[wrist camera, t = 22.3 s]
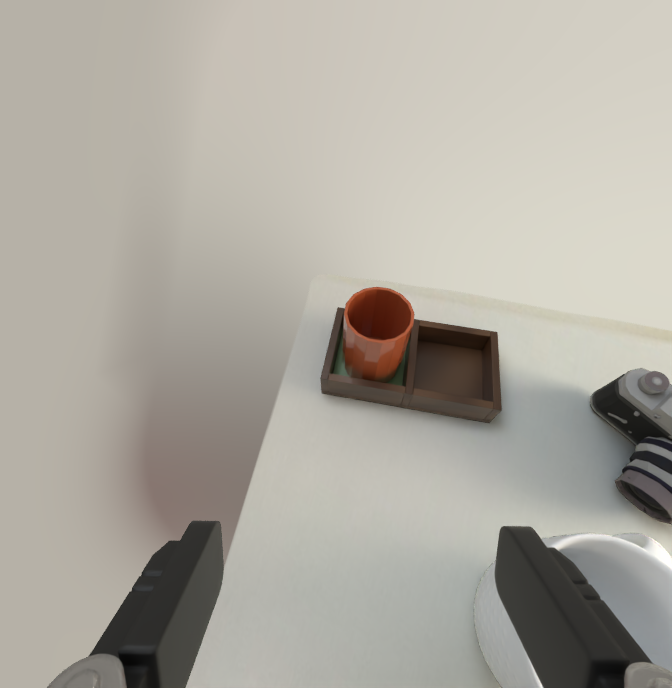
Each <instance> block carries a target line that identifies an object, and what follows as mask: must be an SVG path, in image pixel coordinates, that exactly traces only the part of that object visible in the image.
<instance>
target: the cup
mask: <svg viewBox="0 0 672 688" xmlns="http://www.w3.org/2000/svg"><path fill="white" fill-rule="evenodd" d="M413 323H414V311H413V309H412V306H411V304H410V302H409V301H408V300H407V299H406V298H405V297H404V296H403V295H402V294H400V293H398V292H396V291H394V290H392V289H388V288H382V287H373V288H366V289H363V290H361V291H359V292H357V293H355V294H354V295H353V296H352V297H351V298H350V299H349V301H348V302H347V303H346V307H345V311H344V328H343V357H342V359H343V365H344V368H345V370H346V372H347V374H348V375H349V376H350V377H353V378H359V379H365V380H371V381H376V382H382V383H387V382H389V381H390V380H392V379H393V378H394V377H395V375H396V374H397V372H398V370H399V368H400V365H401V362H402V359H403V356H404V353H405V349H406V346H407V343H408V340H409V337H410V333H411V330H412V327H413Z"/></svg>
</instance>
